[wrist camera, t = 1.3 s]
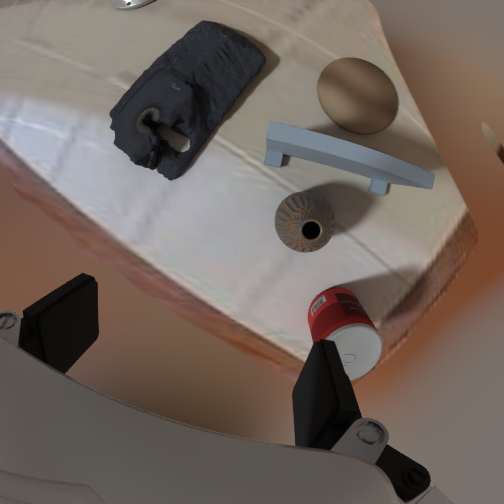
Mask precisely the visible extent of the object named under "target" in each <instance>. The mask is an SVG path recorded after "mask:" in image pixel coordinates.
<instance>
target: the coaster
mask: <svg viewBox="0 0 504 504" xmlns="http://www.w3.org/2000/svg"><path fill="white" fill-rule="evenodd" d="M318 97H319V100H320V103H321V105H322V107H323V109H324V111H325V112H326V114H327V115H328V116H329V117H330V118H331V119H332V120H333V121H334V122H335V123H336V124H337V125H339V126H340V127H342V128H344V129H346V130H348V131H351V132H354V133H360V134H369V133H374V132H377V131H379V130H382V129H383V128H385V127H386V126H387V125H388V124H389V123H390V122H391V121H392V119H393V117H394V115H395V112H396V105H397V101H396V94H395V91H394V88H393V86H392V84H391V82H390V80H389V79H388V78H387V76H386V75H385V74H384V73H383V72H382V71H381V70H380V69H379V68H377V67H376V66H375V65H373V64H371V63H369V62H367V61H365V60H362V59H358V58H342V59H338V60H335V61H333V62H332V63H330V64H329V65H328V66H327V67H326V68H325V69H324V70H323V72H322V73H321V75H320V78H319V81H318Z"/></svg>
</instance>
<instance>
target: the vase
mask: <svg viewBox="0 0 504 504" xmlns="http://www.w3.org/2000/svg"><path fill="white" fill-rule="evenodd" d="M275 228H276V232H277V234H278V236H279V238H280V239H281V241H282V242H283V243H284V244H285V245H286V246H288V247H289V248H291V249H293V250H295V251H298V252H313V251H316V250H319V249H320V248H322V247H323V246H325V245H326V244H327V243H328V242H329V240H330V239H331V237H332V235H333V232H334V229H335V217H334V213H333V210H332V208H331V206H330V205H329V203H328V202H327V201H326V200H325V199H324V198H322V197H321V196H319V195H317V194H315V193H312V192H297V193H294V194H291V195H289V196H288V197H286V198H285V199H284V200H283V201H282V202H281V204H280V205H279V207H278V209H277V211H276V215H275Z"/></svg>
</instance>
